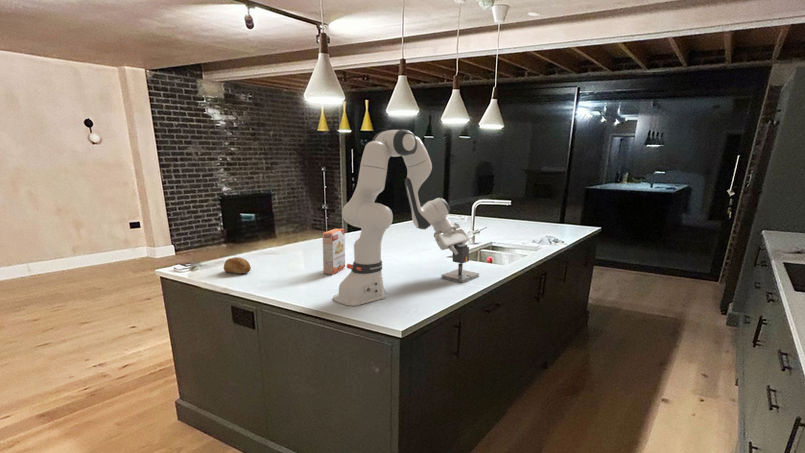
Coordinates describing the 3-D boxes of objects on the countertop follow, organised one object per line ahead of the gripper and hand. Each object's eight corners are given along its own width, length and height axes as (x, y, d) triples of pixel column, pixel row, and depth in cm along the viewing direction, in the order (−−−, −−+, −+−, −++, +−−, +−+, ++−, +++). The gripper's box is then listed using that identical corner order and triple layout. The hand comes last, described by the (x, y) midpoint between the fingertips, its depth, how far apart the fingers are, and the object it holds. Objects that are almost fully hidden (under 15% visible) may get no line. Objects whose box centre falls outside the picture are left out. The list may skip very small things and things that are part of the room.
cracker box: (334, 275, 194) (332, 233, 190) (323, 274, 196) (321, 232, 192) (346, 267, 207) (345, 228, 204) (335, 266, 209) (334, 228, 205)
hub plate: (462, 283, 180) (462, 269, 179) (441, 277, 188) (441, 264, 187) (478, 276, 191) (479, 263, 189) (458, 271, 199) (458, 259, 197)
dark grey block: (463, 263, 184) (463, 247, 183) (452, 261, 188) (452, 245, 187) (469, 261, 188) (470, 245, 187) (459, 259, 192) (459, 243, 191)
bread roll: (241, 277, 192) (240, 261, 191) (218, 274, 198) (217, 258, 196) (255, 272, 201) (254, 256, 200) (233, 269, 206) (231, 254, 205)
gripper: (435, 229, 182) (453, 253, 178) (461, 223, 197) (477, 245, 192) (428, 237, 186) (445, 260, 181) (453, 230, 201) (469, 252, 196)
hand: (461, 252), depth 187 cm, fingers closed on dark grey block, 5 cm apart
